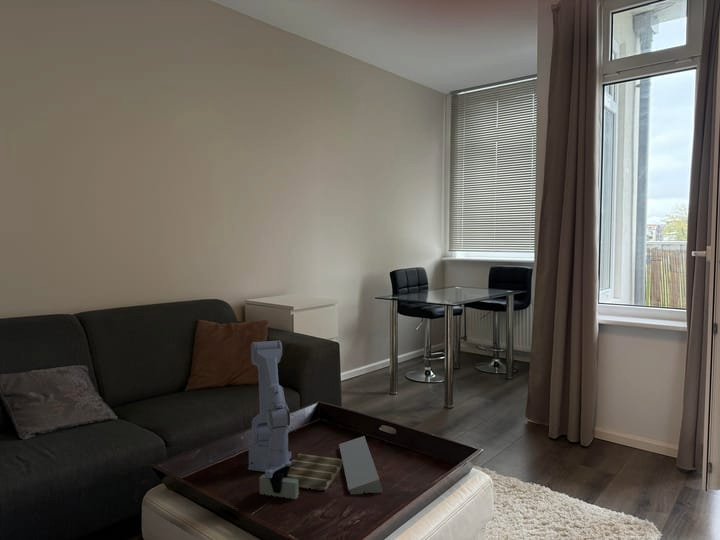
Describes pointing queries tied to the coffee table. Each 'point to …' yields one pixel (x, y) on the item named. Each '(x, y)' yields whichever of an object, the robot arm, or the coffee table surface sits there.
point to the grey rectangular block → (359, 467)
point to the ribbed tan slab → (314, 471)
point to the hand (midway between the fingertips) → (279, 490)
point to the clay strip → (287, 490)
